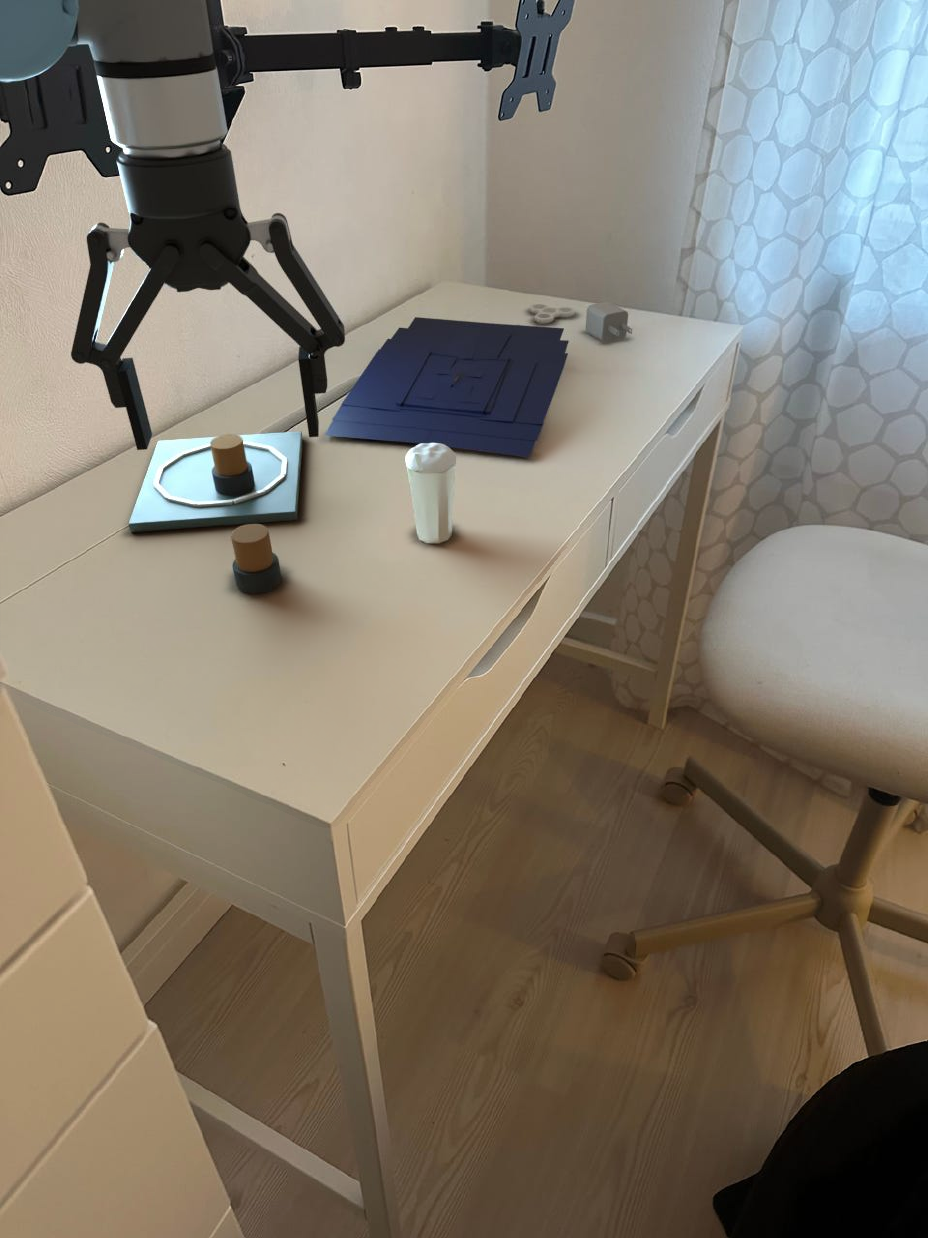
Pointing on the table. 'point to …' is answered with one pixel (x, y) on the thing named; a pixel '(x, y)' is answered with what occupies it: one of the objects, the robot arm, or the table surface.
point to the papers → (457, 386)
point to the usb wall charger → (607, 322)
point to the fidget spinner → (549, 312)
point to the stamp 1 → (231, 466)
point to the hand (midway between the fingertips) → (230, 436)
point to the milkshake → (432, 490)
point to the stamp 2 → (254, 559)
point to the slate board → (187, 489)
